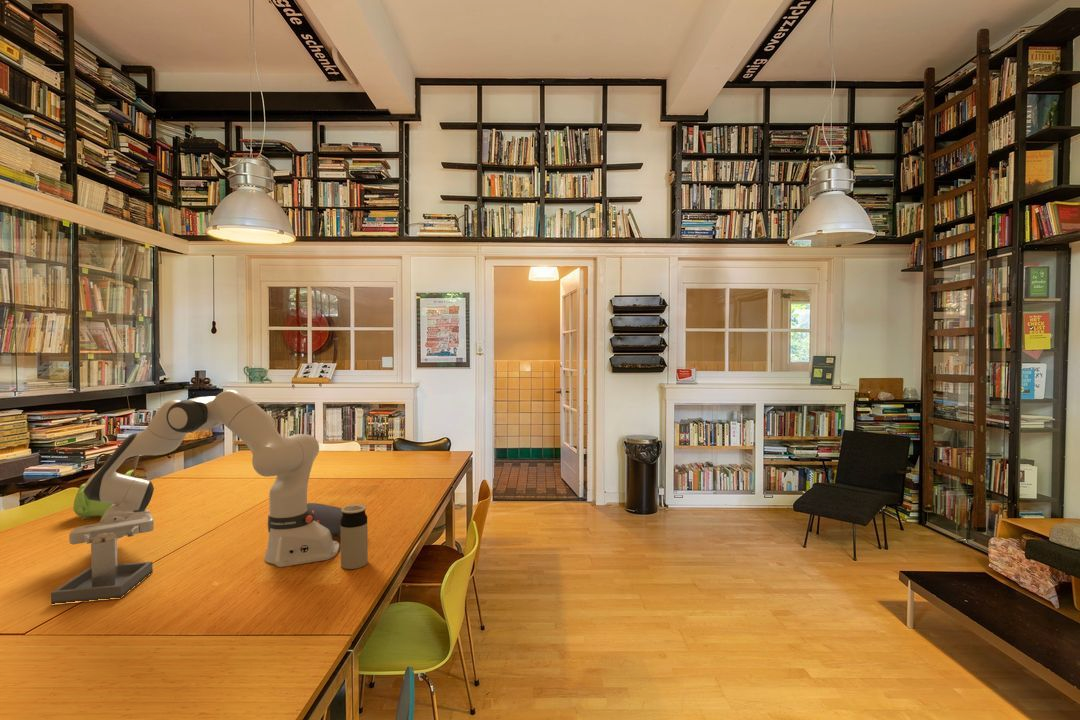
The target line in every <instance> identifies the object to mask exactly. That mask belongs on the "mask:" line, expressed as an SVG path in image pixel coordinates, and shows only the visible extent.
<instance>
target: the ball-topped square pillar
mask: <svg viewBox="0 0 1080 720" xmlns="http://www.w3.org/2000/svg"><path fill="white" fill-rule="evenodd" d="M90 557H91V562H90V563H91V567H92V587H102V586H114V585H116V583H117V580H118V564H119V563H118V539H117V535H115V534H114V533H108V534H107V533H103V534H99V535H97V536H95V538H94V540H93V542H92V543H90Z"/></svg>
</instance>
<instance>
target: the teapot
mask: <svg viewBox="0 0 1080 720" xmlns="http://www.w3.org/2000/svg"><path fill="white" fill-rule="evenodd" d="M134 472H135V471H134V469H130V470H128V471H127V472H126V473H124V475H128V476H132V473H134ZM85 484H86V482H85V483H83V484H81V485H80V486H79V488H78V490H77V493H76V495H75V498H74V500H73V501H74V502H73V512H74V513H75V515H76V516H80V517H81V518H80V519H81V520H88V519H91V518H92V517H100V520H101V518H102V517H103V515H104V513H105V511H106V510H107V509H108V508H109V507H110V506H111V505H112V503H108V502H103V501H94V500H89V499H88V498H87V497H86V495H85V494H84V492H83V490H84V486H85Z"/></svg>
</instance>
